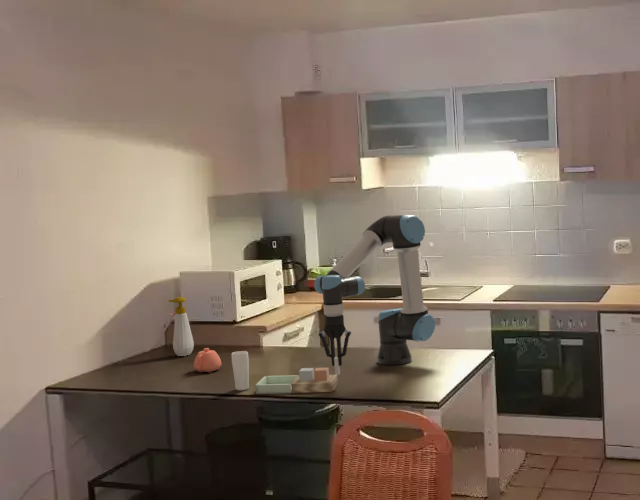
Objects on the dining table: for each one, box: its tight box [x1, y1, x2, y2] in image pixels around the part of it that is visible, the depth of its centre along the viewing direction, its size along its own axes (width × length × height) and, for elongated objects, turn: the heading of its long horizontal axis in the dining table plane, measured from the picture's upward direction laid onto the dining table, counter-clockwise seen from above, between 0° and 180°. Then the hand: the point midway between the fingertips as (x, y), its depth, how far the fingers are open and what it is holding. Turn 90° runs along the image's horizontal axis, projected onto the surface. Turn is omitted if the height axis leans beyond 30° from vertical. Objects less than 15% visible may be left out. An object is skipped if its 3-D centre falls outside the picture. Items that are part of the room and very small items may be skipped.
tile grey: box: [298, 367, 315, 381], centre depth 369 cm, size 5×5×4 cm
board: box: [291, 374, 339, 394], centre depth 368 cm, size 16×14×4 cm
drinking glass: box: [231, 350, 250, 392], centre depth 374 cm, size 7×7×15 cm
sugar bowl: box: [193, 347, 222, 374], centre depth 414 cm, size 12×14×10 cm
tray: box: [254, 374, 299, 395], centre depth 371 cm, size 14×16×4 cm
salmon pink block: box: [314, 367, 330, 381], centre depth 368 cm, size 5×5×4 cm
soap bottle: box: [168, 296, 195, 357], centre depth 454 cm, size 13×10×29 cm
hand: (337, 373), depth 366 cm, fingers closed
